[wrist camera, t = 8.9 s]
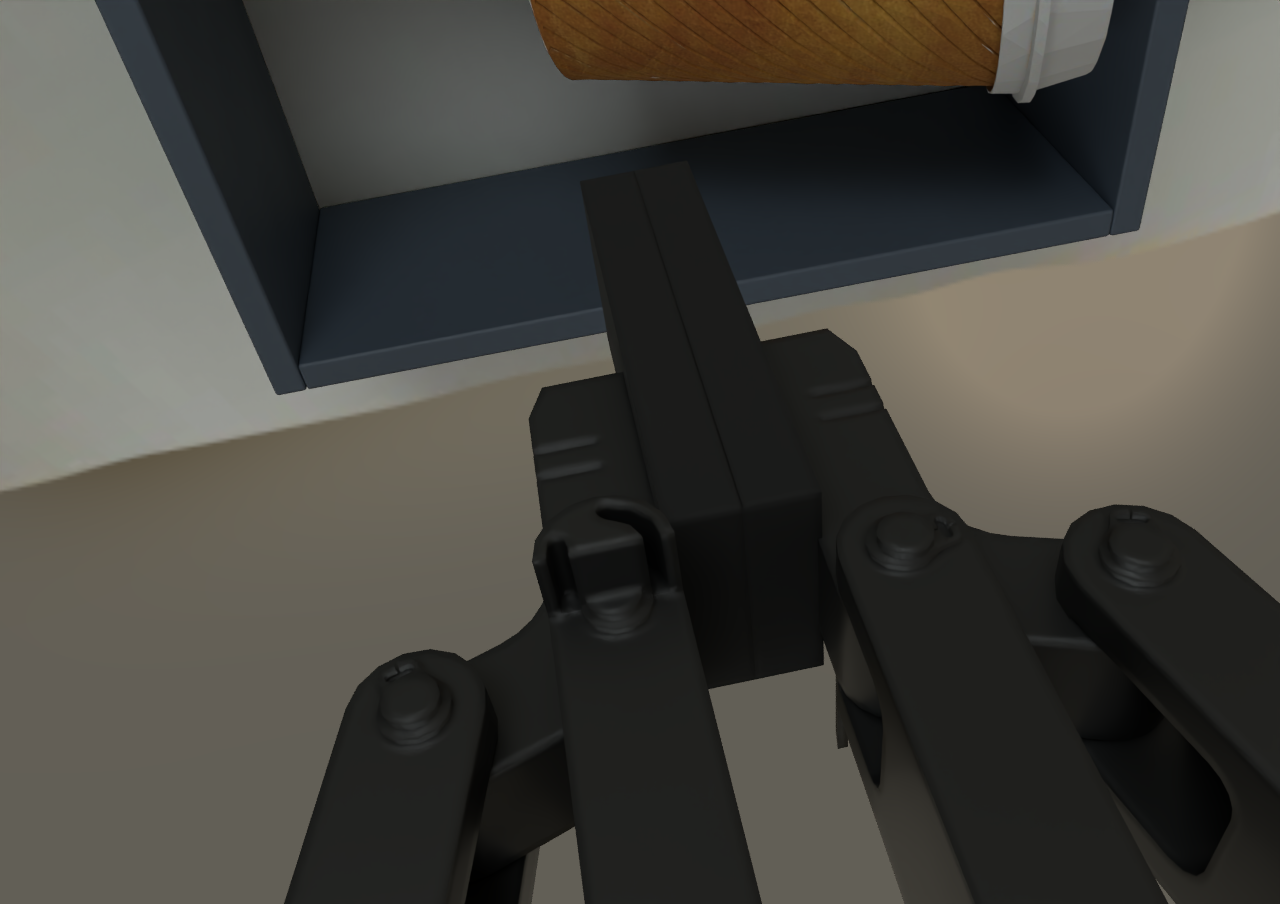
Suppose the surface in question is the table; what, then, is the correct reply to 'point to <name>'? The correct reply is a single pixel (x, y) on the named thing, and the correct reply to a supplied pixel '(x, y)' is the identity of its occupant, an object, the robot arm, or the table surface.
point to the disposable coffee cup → (828, 41)
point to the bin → (551, 195)
